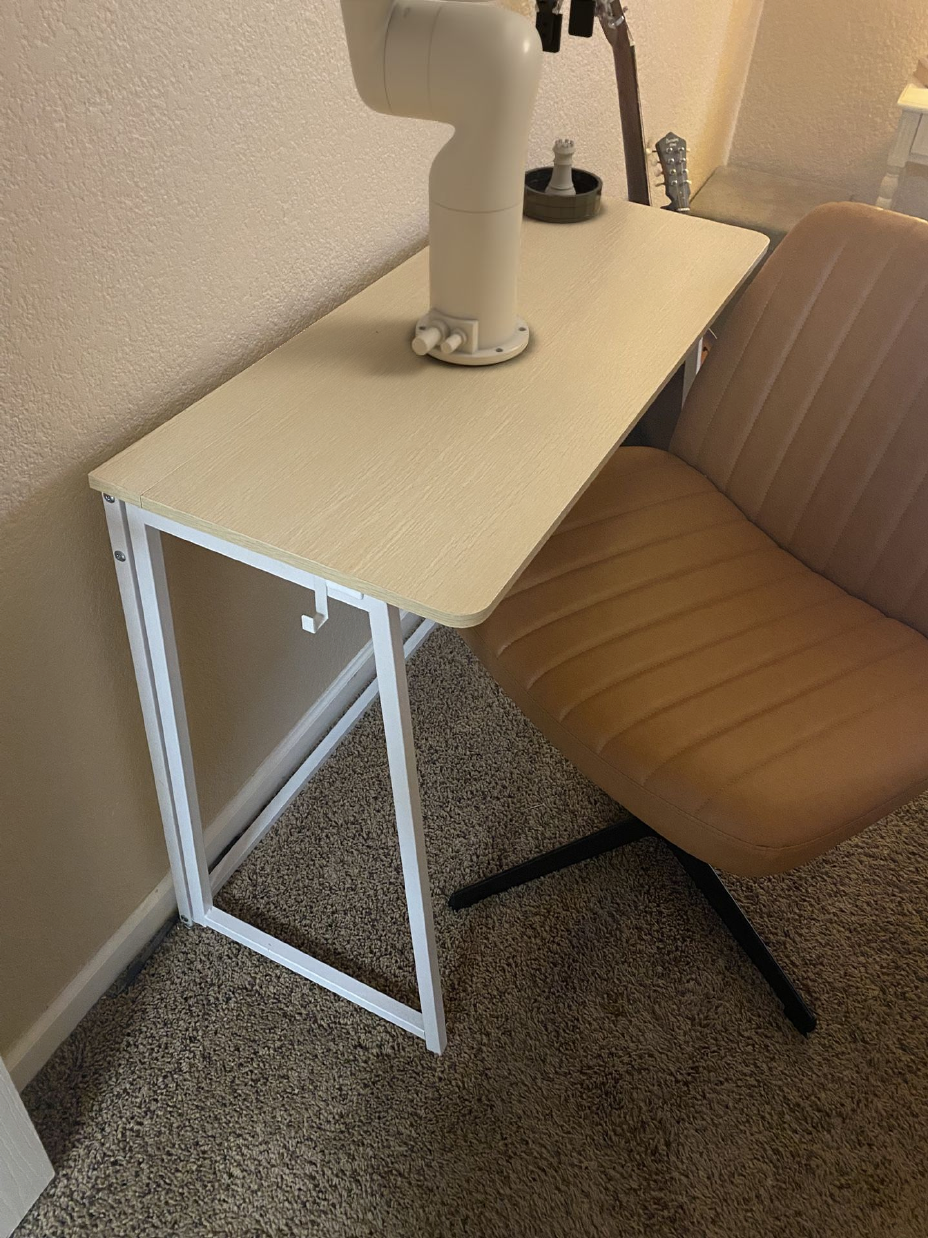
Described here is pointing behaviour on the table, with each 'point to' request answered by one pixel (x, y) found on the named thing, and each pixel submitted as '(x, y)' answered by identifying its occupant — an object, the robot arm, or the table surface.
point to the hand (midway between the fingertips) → (563, 43)
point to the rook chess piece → (562, 169)
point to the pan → (561, 196)
